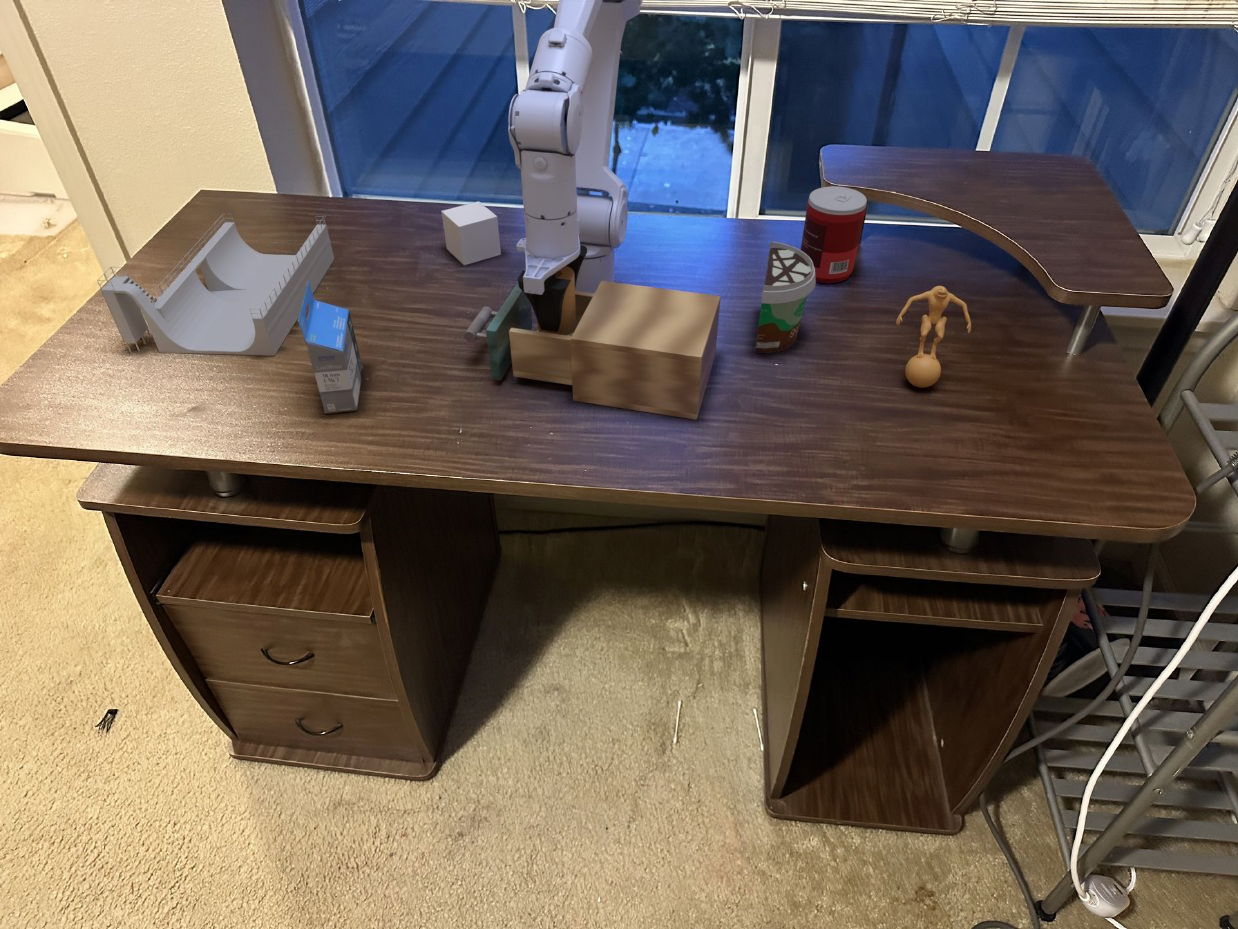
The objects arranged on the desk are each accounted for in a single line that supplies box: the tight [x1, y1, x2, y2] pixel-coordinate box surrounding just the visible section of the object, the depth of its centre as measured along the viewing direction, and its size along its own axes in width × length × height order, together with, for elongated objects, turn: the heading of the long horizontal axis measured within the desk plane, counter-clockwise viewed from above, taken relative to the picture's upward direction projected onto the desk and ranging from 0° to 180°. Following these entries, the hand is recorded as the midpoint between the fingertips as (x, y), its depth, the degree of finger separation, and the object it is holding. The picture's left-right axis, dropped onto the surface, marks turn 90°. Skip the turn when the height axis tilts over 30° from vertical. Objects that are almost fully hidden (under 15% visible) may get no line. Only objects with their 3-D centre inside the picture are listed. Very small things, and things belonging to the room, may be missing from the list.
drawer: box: [463, 282, 595, 386], centre depth 102 cm, size 18×12×7 cm
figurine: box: [895, 285, 972, 389], centre depth 99 cm, size 8×6×12 cm
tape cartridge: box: [297, 281, 364, 415], centre depth 97 cm, size 9×4×12 cm, turn 9°
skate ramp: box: [97, 213, 335, 357], centre depth 112 cm, size 25×19×10 cm
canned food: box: [800, 185, 868, 284], centre depth 119 cm, size 8×8×11 cm
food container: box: [754, 241, 817, 354], centre depth 107 cm, size 12×6×10 cm, turn 168°
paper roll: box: [536, 266, 576, 335], centre depth 99 cm, size 5×5×7 cm
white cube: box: [440, 201, 502, 266], centre depth 124 cm, size 6×6×6 cm
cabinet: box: [571, 281, 722, 420], centre depth 100 cm, size 15×13×9 cm
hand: (556, 317), depth 100 cm, fingers closed on paper roll, 4 cm apart
